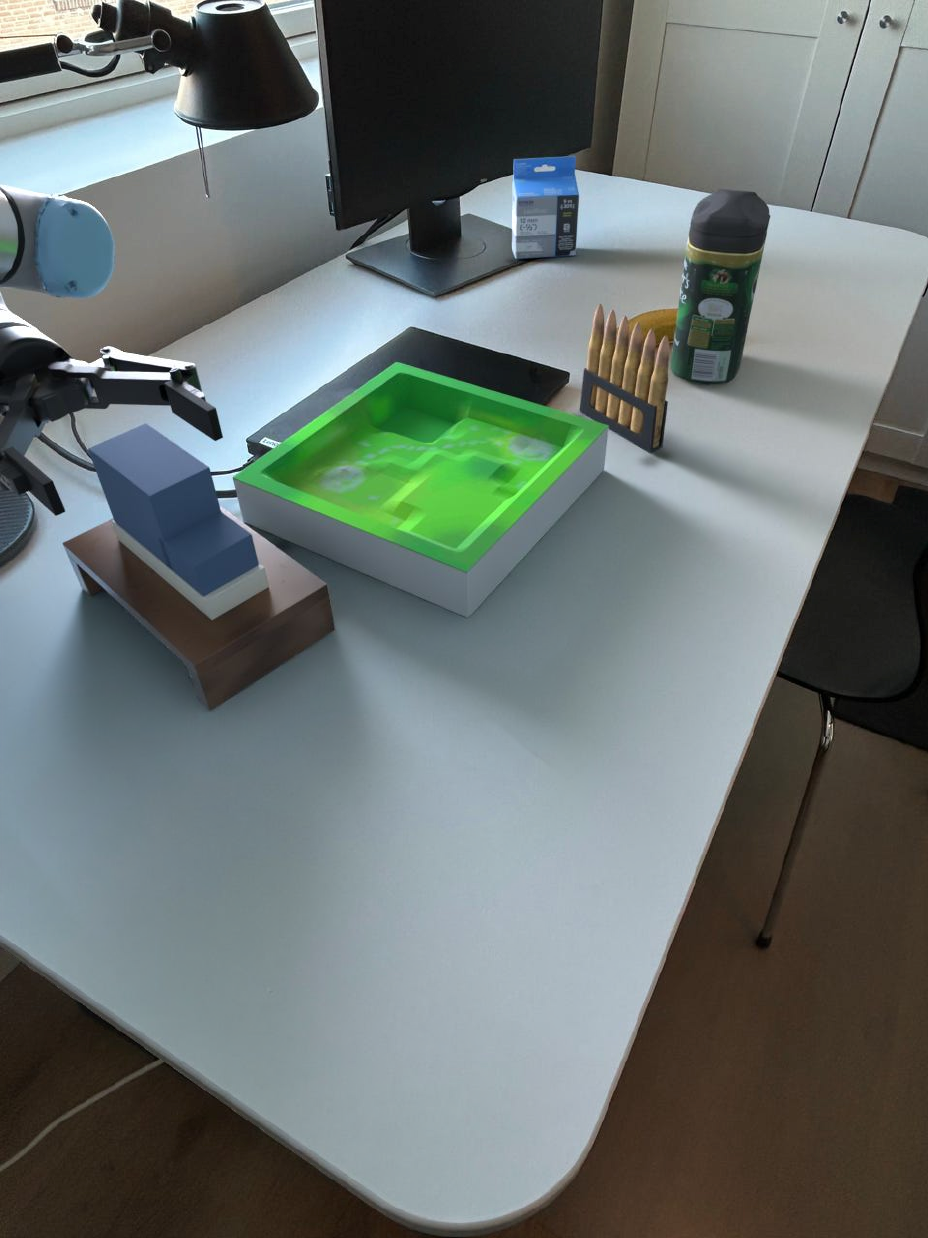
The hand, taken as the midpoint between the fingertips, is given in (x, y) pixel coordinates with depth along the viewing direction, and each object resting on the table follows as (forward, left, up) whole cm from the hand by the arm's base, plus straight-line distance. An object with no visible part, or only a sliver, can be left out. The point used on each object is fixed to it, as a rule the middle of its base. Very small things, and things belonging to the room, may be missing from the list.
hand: (139, 460), depth 66 cm
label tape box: (+76, +25, -13) cm, 81 cm away
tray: (+24, -6, -13) cm, 28 cm away
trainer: (0, -4, -8) cm, 9 cm away
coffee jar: (+63, -11, -13) cm, 65 cm away
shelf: (0, -4, -13) cm, 14 cm away
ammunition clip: (+46, -12, -13) cm, 49 cm away
